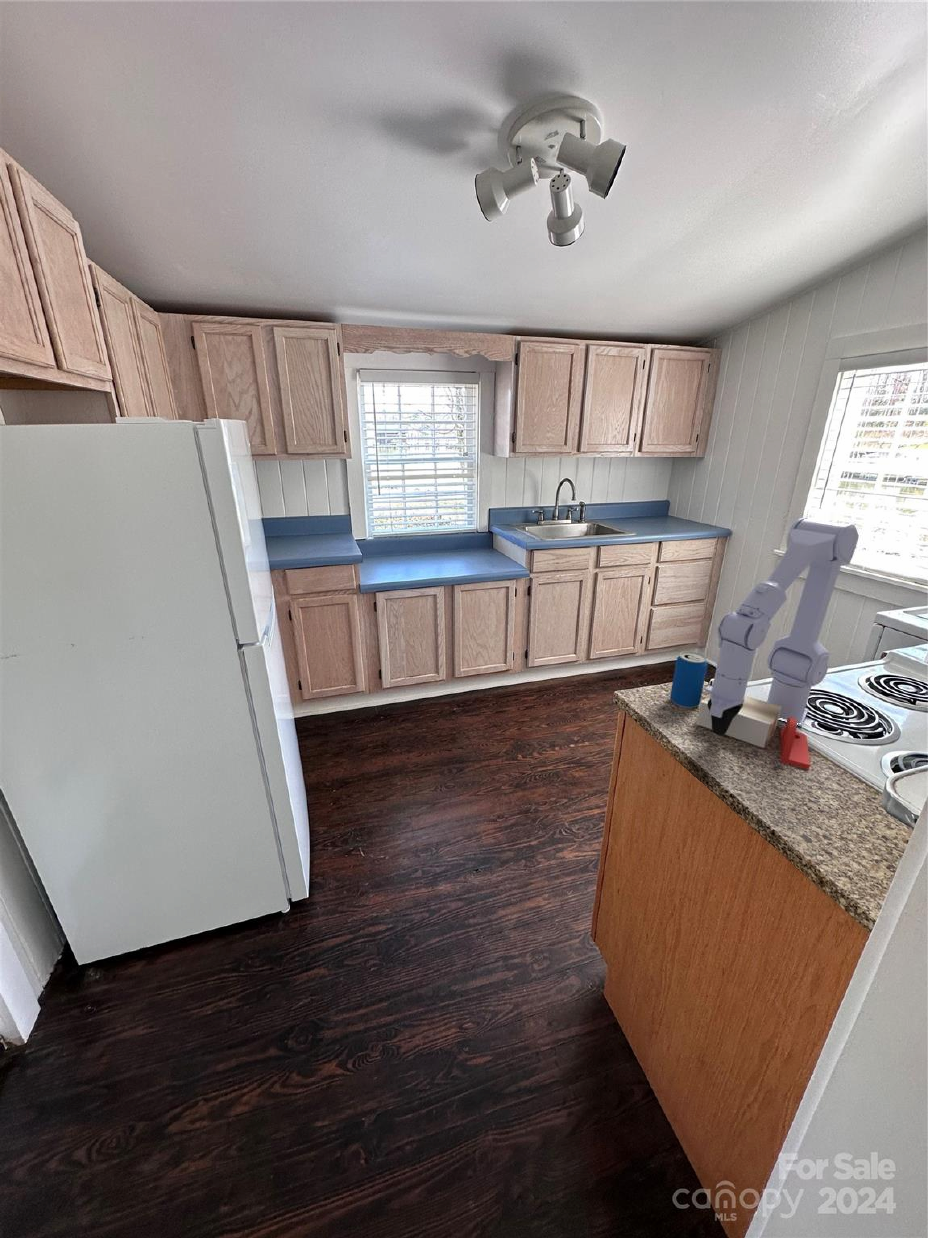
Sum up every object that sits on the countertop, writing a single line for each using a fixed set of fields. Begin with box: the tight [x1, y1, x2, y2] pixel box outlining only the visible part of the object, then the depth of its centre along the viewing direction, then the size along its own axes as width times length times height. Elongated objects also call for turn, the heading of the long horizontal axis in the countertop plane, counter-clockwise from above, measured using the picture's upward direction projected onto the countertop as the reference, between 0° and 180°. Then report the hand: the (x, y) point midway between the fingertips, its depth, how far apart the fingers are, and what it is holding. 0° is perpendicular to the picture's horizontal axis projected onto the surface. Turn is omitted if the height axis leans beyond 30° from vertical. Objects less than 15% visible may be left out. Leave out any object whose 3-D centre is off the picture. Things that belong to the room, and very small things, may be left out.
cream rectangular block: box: [703, 693, 782, 748], centre depth 105 cm, size 9×13×6 cm
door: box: [696, 699, 771, 749], centre depth 102 cm, size 1×13×6 cm, turn 48°
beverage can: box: [669, 651, 708, 709], centre depth 113 cm, size 6×6×12 cm
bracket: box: [779, 717, 811, 770], centre depth 97 cm, size 12×4×8 cm, turn 149°
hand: (718, 733), depth 100 cm, fingers closed
